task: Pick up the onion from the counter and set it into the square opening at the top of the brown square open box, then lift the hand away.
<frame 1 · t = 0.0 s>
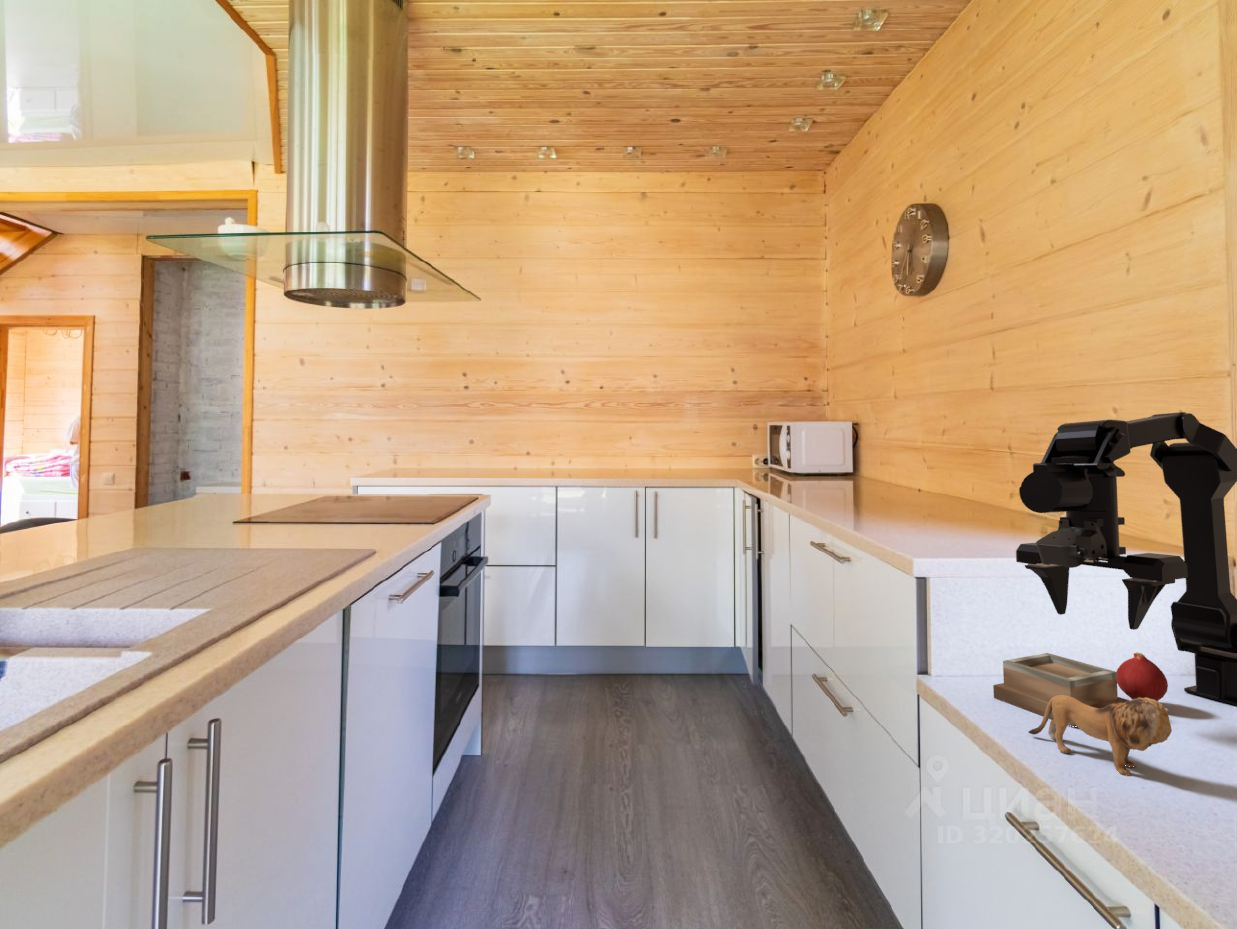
hand: (1095, 621, 82), 15 cm above the countertop, tool pointing down, fingers open, 9 cm apart
brown square open box: (1059, 705, 89), on the countertop
lion figurine: (1100, 760, 73), on the countertop
onion: (1142, 706, 88), on the countertop
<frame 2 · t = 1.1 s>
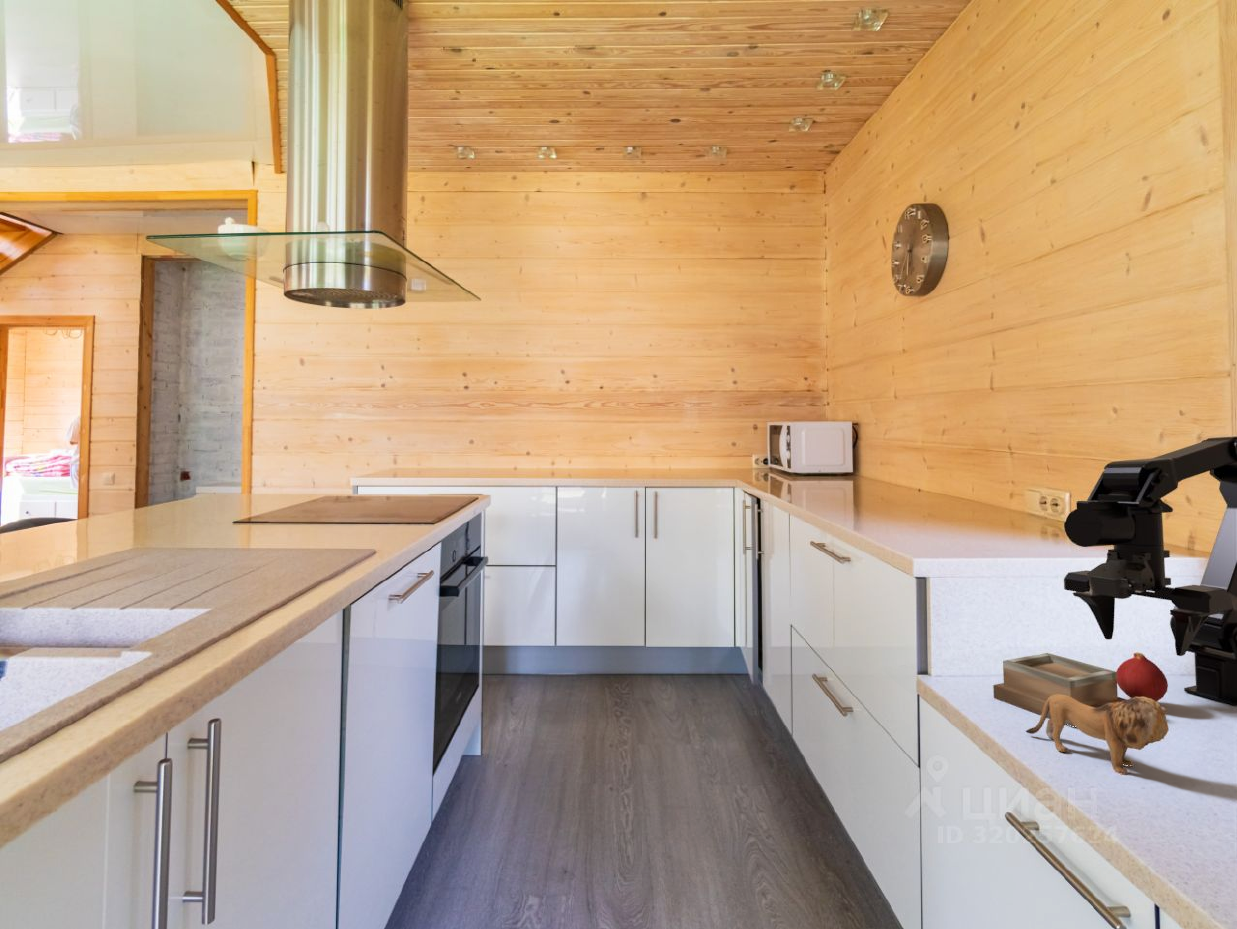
hand: (1142, 646, 88), 9 cm above the countertop, tool pointing down, fingers open, 9 cm apart
nothing on the countertop moved.
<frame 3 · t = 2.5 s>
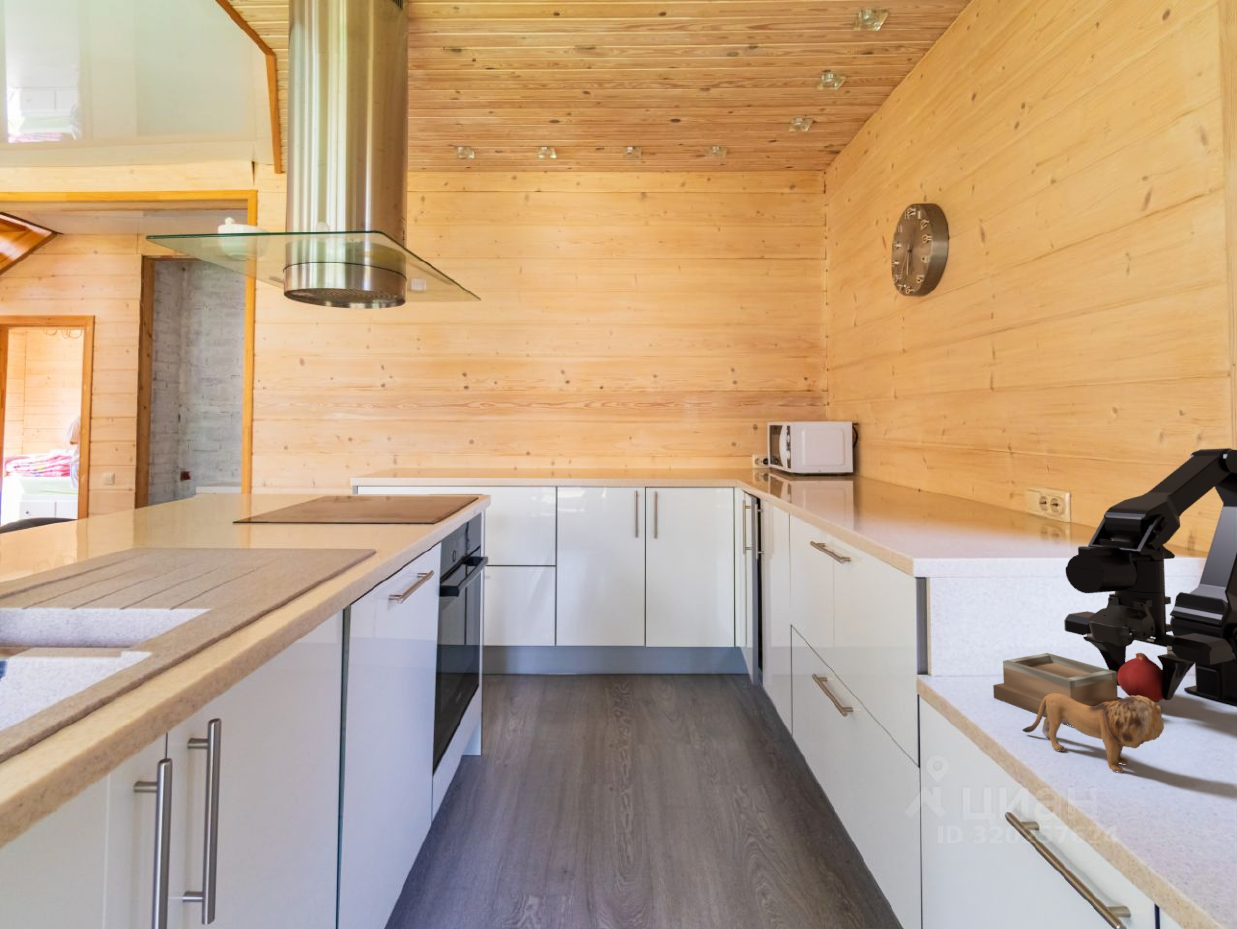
hand: (1142, 692, 88), 2 cm above the countertop, tool pointing down, fingers closed on onion, 6 cm apart
onion: (1143, 706, 88), on the countertop, touching gripper
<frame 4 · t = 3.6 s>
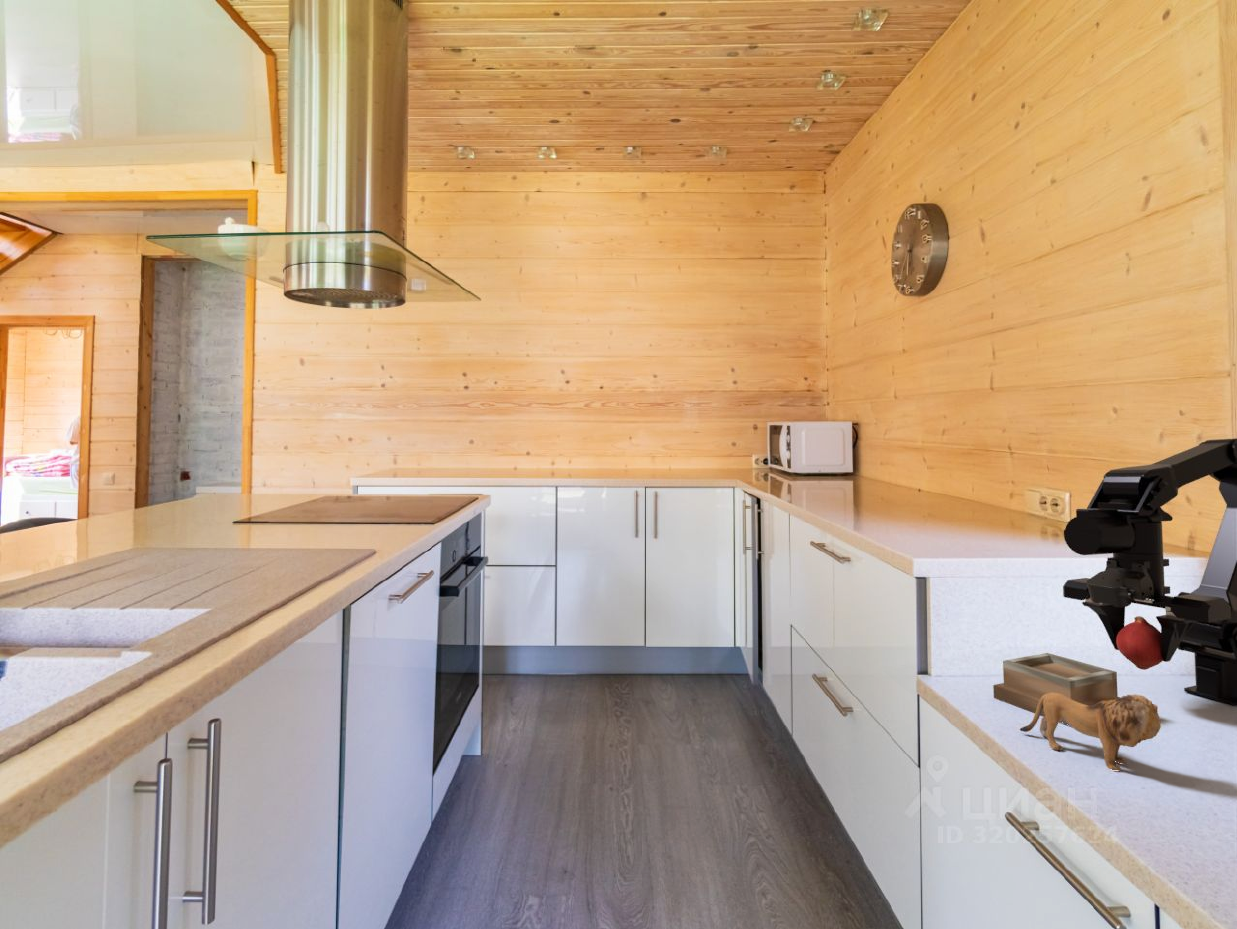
hand: (1141, 655, 88), 8 cm above the countertop, tool pointing down, fingers closed on onion, 6 cm apart
onion: (1142, 670, 88), point 5 cm above the countertop, touching gripper
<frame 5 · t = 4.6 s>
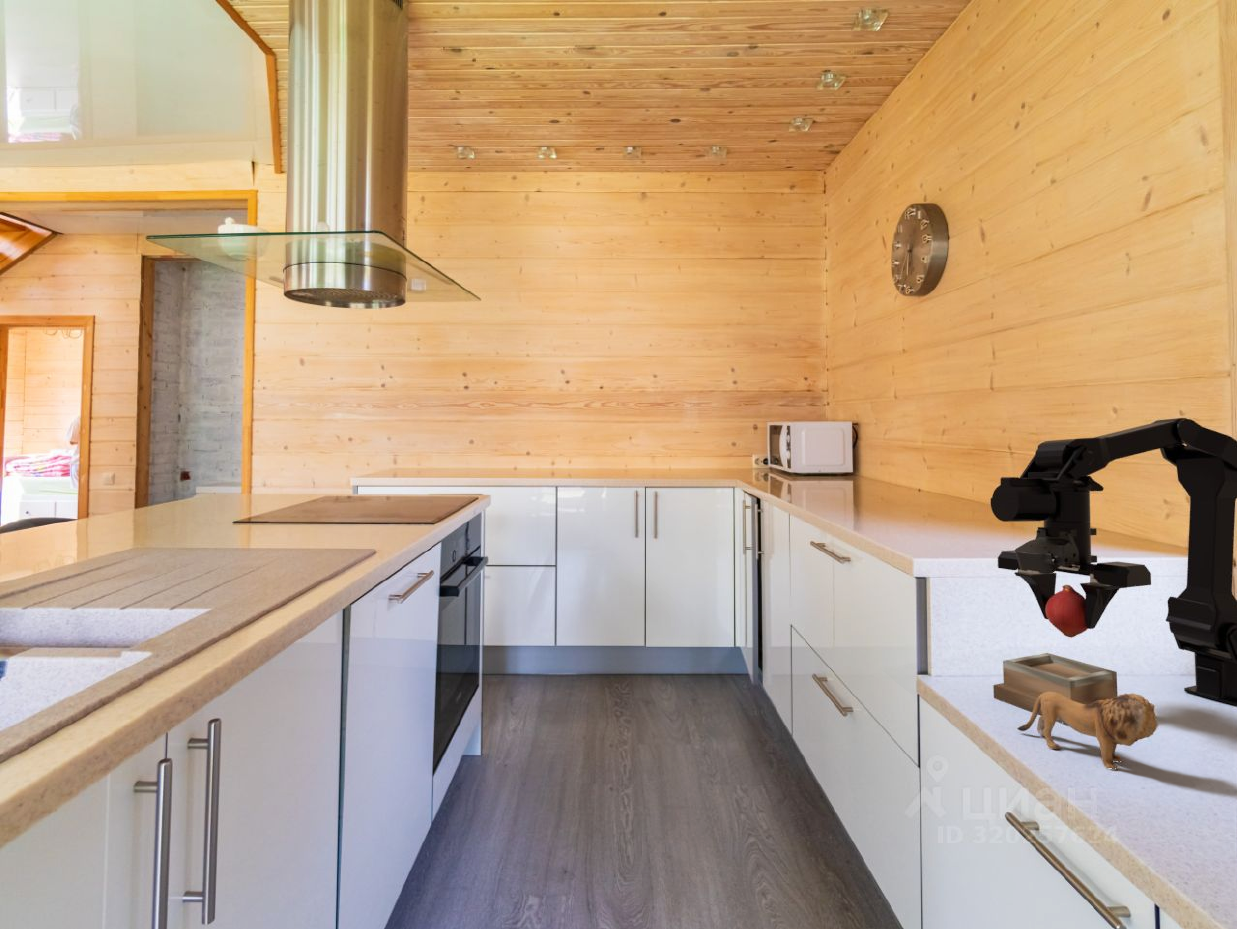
hand: (1068, 623, 89), 12 cm above the countertop, tool pointing down, fingers closed on onion, 6 cm apart
onion: (1069, 638, 89), point 10 cm above the countertop, touching gripper
when the fingers open (9 cm above the countertop, at t = 6.1 s): onion drops 2 cm, resting on brown square open box.
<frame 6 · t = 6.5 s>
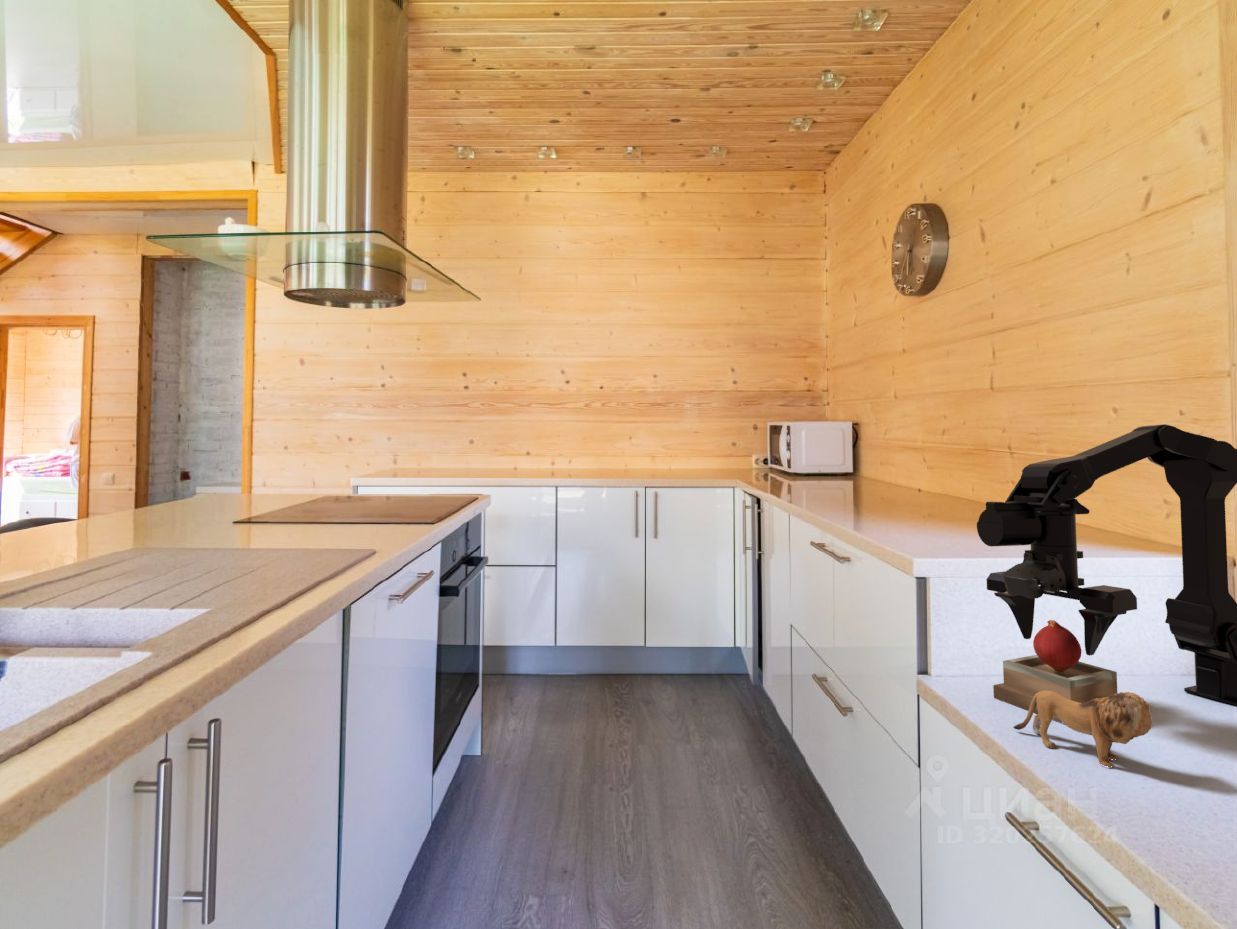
hand: (1057, 646, 89), 9 cm above the countertop, tool pointing down, fingers open, 9 cm apart
onion: (1060, 673, 89), point 5 cm above the countertop, touching brown square open box
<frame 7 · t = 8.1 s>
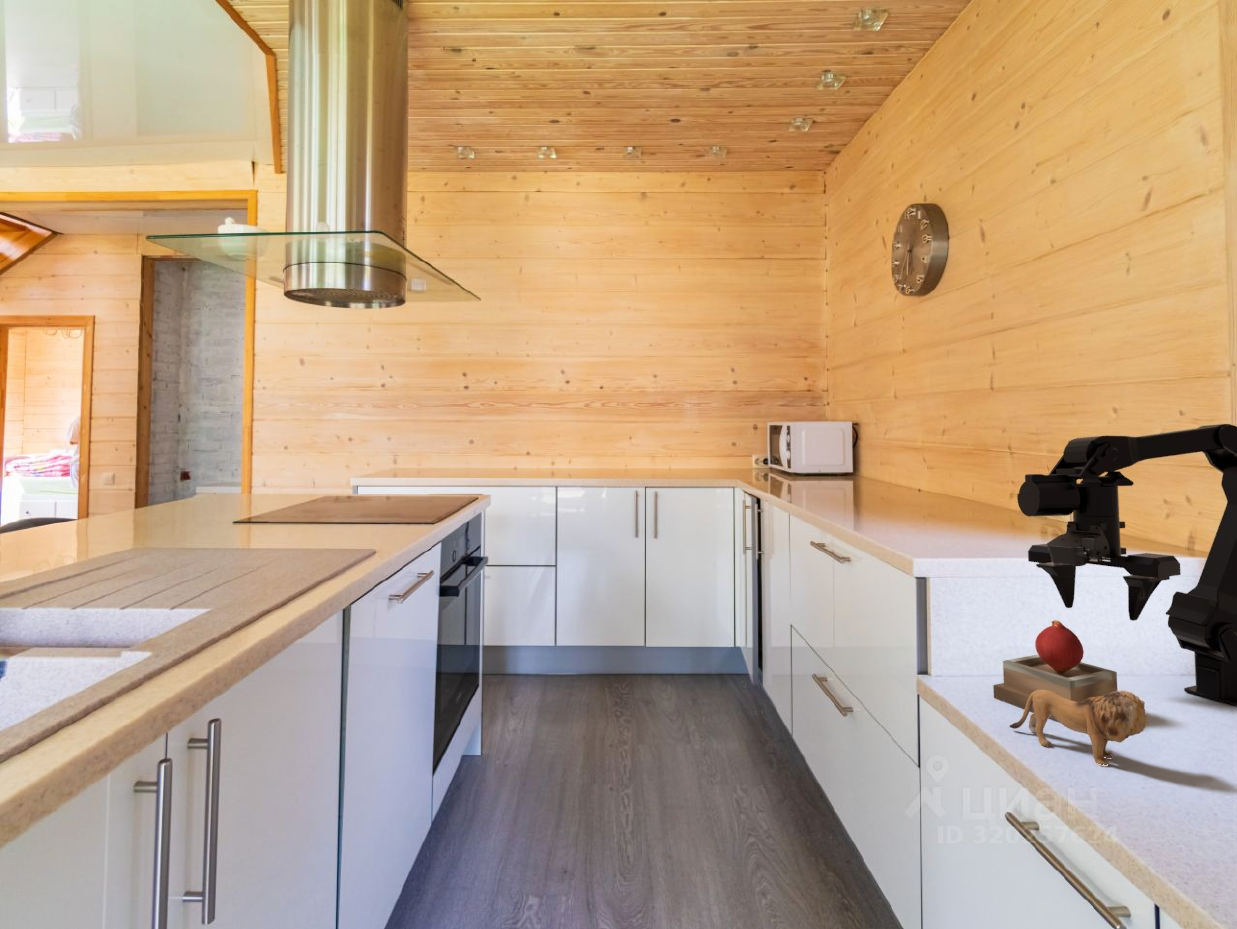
hand: (1099, 613, 93), 13 cm above the countertop, tool pointing down, fingers open, 9 cm apart
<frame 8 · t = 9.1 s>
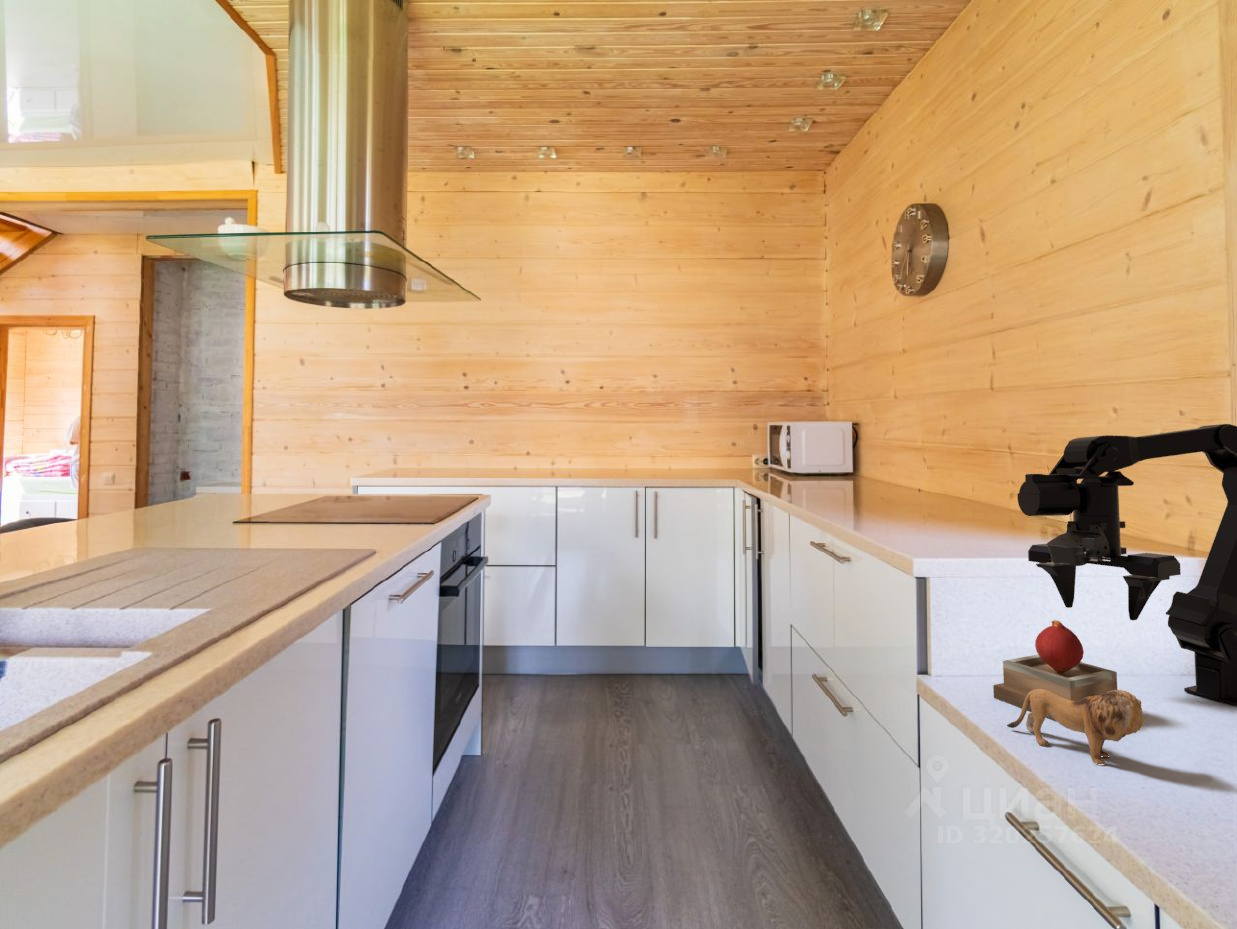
hand: (1099, 613, 93), 13 cm above the countertop, tool pointing down, fingers open, 9 cm apart
at the end: onion 0.3 cm off-centre on the brown square open box, point 4.8 cm above the brown square open box's base; onion touching brown square open box; the gripper is holding nothing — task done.
